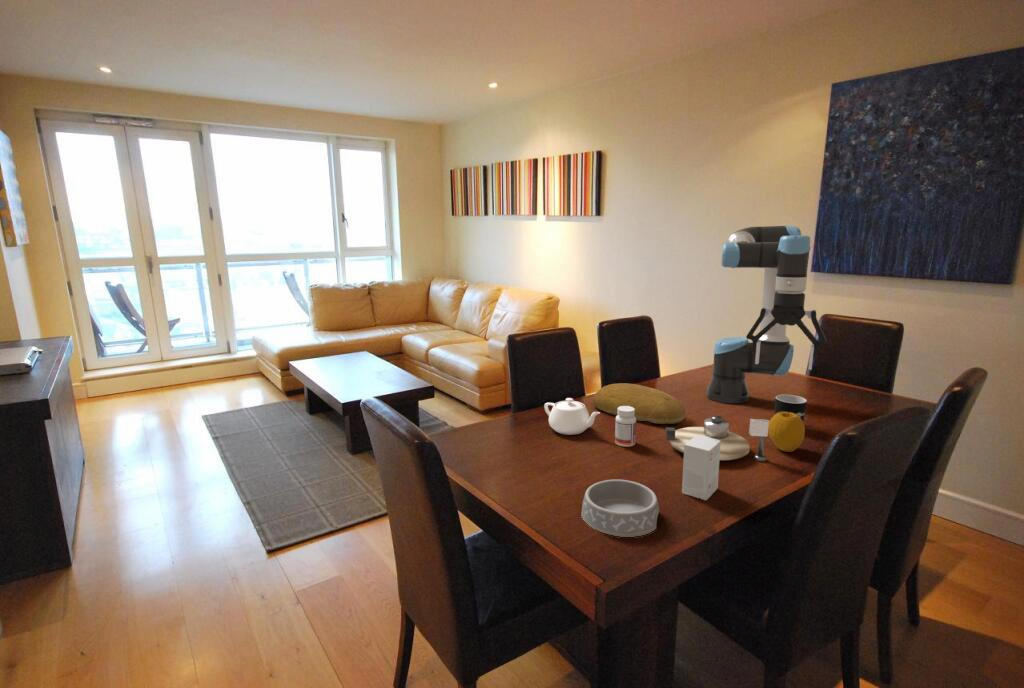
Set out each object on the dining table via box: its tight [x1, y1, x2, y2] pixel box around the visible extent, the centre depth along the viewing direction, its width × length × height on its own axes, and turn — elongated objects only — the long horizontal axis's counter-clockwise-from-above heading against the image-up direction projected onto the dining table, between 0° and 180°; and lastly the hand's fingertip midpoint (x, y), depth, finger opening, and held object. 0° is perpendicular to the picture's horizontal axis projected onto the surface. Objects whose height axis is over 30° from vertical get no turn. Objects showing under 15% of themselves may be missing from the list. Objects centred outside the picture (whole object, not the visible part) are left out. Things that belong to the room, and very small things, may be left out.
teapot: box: [543, 397, 601, 436], centre depth 170 cm, size 22×14×11 cm, turn 48°
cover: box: [703, 415, 730, 439], centre depth 157 cm, size 7×7×6 cm
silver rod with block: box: [748, 418, 770, 463], centre depth 145 cm, size 3×5×12 cm, turn 81°
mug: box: [774, 394, 808, 422], centre depth 169 cm, size 12×9×10 cm
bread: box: [592, 382, 686, 425], centre depth 185 cm, size 18×35×10 cm, turn 48°
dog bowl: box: [580, 479, 660, 538], centre depth 119 cm, size 17×18×5 cm
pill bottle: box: [614, 406, 637, 448], centre depth 158 cm, size 6×6×11 cm
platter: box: [665, 426, 751, 461], centre depth 153 cm, size 22×23×4 cm
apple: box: [768, 412, 806, 453], centre depth 152 cm, size 10×10×12 cm
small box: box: [681, 435, 721, 501], centre depth 128 cm, size 8×6×13 cm
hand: (782, 365), depth 149 cm, fingers open, 13 cm apart
